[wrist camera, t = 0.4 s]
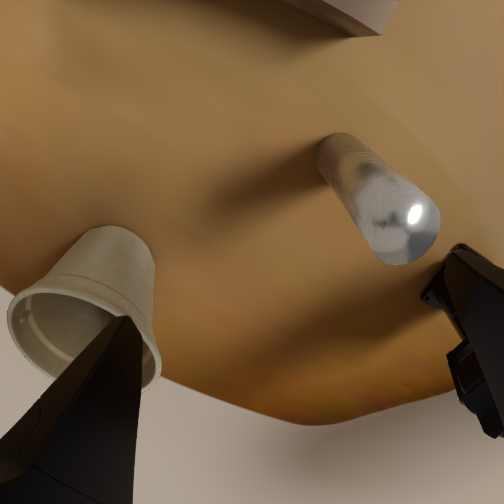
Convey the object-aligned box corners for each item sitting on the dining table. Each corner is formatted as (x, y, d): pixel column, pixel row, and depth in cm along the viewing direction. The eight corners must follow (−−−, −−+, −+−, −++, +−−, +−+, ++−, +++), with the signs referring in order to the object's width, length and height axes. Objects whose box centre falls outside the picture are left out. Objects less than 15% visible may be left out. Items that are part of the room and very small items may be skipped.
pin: (372, 147, 19) (453, 214, 11) (348, 188, 20) (410, 274, 13) (331, 123, 18) (401, 180, 10) (306, 168, 19) (355, 250, 12)
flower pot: (173, 316, 26) (161, 409, 19) (67, 297, 24) (31, 380, 17) (184, 213, 21) (163, 307, 13) (53, 196, 19) (-13, 273, 12)
